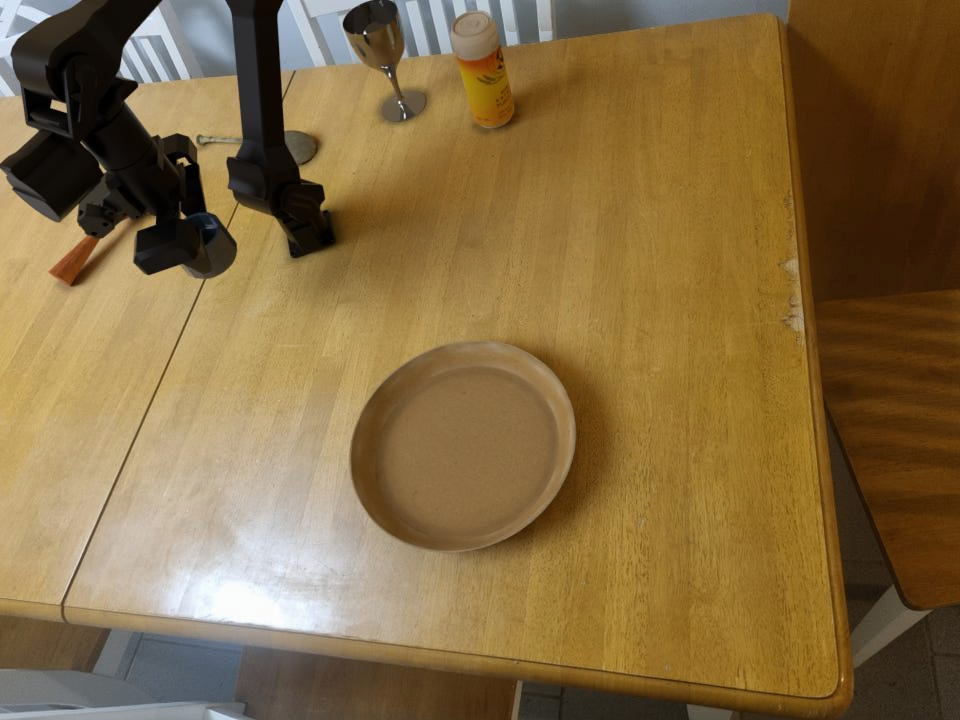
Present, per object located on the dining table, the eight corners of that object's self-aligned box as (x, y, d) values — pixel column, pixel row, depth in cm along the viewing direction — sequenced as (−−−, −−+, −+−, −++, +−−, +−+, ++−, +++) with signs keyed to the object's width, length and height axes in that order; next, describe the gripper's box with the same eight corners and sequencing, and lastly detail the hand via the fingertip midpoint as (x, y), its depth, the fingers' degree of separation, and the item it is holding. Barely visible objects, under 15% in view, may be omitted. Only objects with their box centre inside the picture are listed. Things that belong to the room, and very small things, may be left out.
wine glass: (378, 95, 115) (342, 7, 103) (427, 83, 114) (397, -7, 102) (378, 128, 111) (341, 40, 98) (429, 116, 110) (398, 25, 97)
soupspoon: (305, 174, 110) (325, 145, 113) (297, 156, 107) (318, 127, 110) (190, 156, 117) (212, 130, 120) (180, 139, 114) (202, 113, 118)
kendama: (32, 262, 105) (121, 160, 112) (67, 287, 110) (150, 187, 116) (50, 269, 102) (140, 163, 108) (85, 294, 106) (169, 191, 112)
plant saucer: (333, 550, 75) (320, 539, 73) (387, 352, 88) (377, 337, 85) (566, 575, 69) (562, 564, 66) (589, 358, 81) (586, 341, 78)
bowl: (187, 248, 91) (166, 223, 87) (238, 230, 90) (219, 204, 86) (187, 288, 87) (165, 264, 83) (240, 270, 86) (221, 245, 83)
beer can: (511, 130, 104) (489, 35, 92) (470, 131, 106) (443, 39, 93) (518, 101, 107) (498, 6, 95) (479, 103, 109) (453, 10, 96)
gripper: (62, 121, 80) (146, 219, 93) (43, 240, 69) (141, 332, 82) (156, 87, 79) (228, 190, 92) (151, 202, 69) (234, 300, 82)
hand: (207, 250), depth 87 cm, fingers closed on bowl, 7 cm apart
